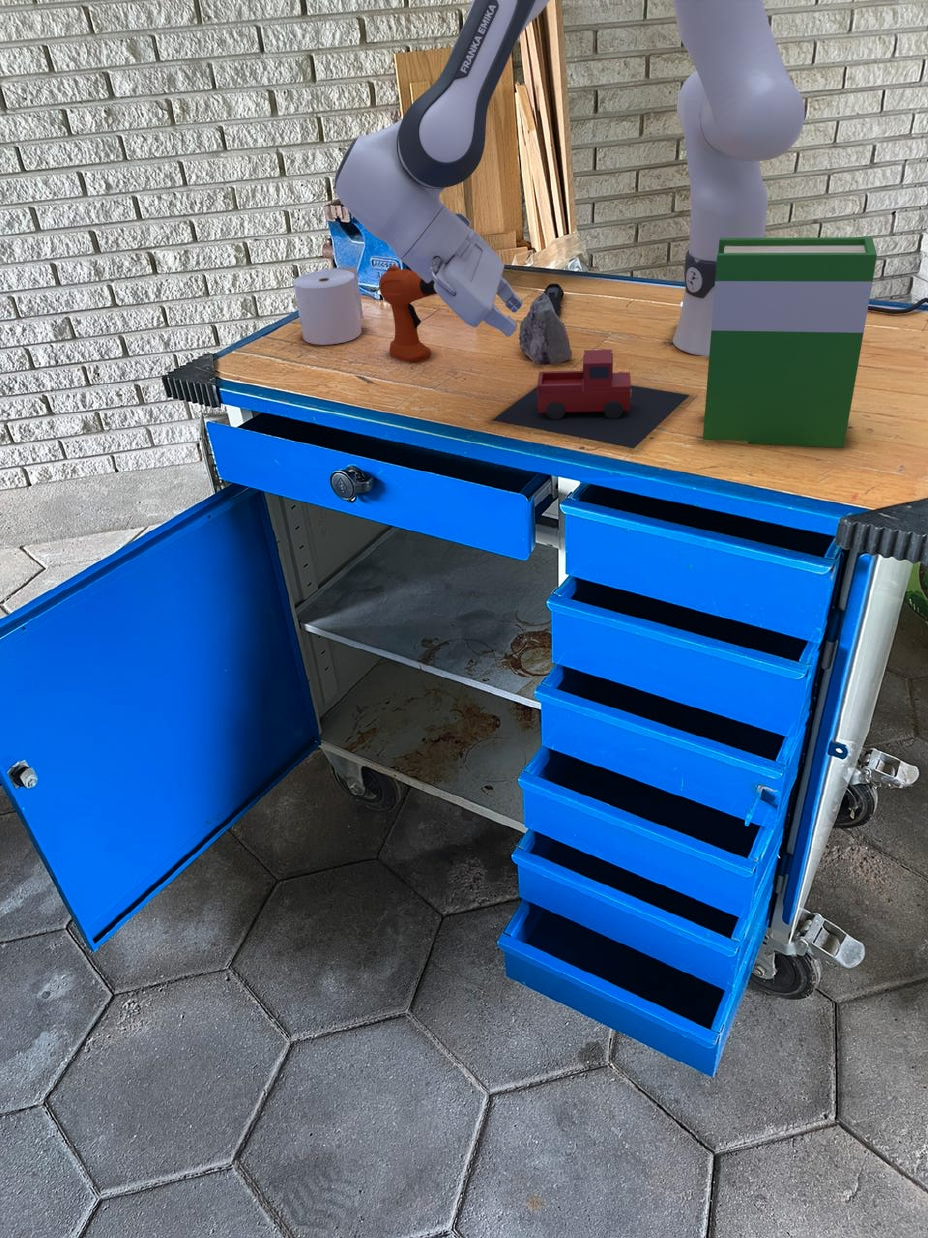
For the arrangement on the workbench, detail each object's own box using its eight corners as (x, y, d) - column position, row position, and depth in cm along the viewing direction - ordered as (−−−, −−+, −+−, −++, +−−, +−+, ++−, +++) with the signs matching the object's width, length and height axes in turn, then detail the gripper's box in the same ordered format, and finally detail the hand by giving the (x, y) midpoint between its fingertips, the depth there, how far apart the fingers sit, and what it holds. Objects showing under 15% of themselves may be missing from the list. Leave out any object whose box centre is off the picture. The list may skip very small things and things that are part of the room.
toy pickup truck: (537, 420, 136) (536, 365, 131) (540, 403, 140) (538, 350, 136) (630, 418, 134) (632, 363, 129) (629, 401, 138) (631, 347, 134)
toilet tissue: (297, 347, 168) (287, 289, 163) (310, 323, 178) (301, 268, 172) (357, 344, 167) (349, 285, 162) (367, 320, 177) (359, 265, 171)
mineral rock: (526, 336, 164) (523, 276, 158) (587, 339, 161) (587, 278, 155) (502, 364, 155) (499, 302, 149) (567, 368, 151) (567, 304, 145)
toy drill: (466, 369, 150) (450, 270, 143) (385, 360, 162) (365, 269, 155) (486, 359, 153) (471, 262, 145) (405, 351, 165) (387, 261, 158)
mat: (555, 374, 150) (555, 372, 149) (689, 397, 139) (689, 394, 139) (491, 422, 137) (491, 419, 137) (633, 450, 127) (633, 448, 126)
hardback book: (702, 441, 127) (717, 255, 113) (705, 418, 133) (719, 237, 119) (843, 447, 123) (877, 254, 109) (840, 423, 129) (872, 236, 115)
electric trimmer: (537, 326, 168) (537, 308, 167) (544, 297, 181) (543, 279, 179) (559, 326, 168) (559, 308, 166) (564, 296, 180) (564, 279, 178)
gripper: (443, 252, 116) (527, 329, 121) (463, 209, 133) (536, 279, 137) (411, 290, 119) (493, 364, 124) (435, 244, 136) (507, 311, 140)
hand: (516, 319), depth 131 cm, fingers open, 8 cm apart
